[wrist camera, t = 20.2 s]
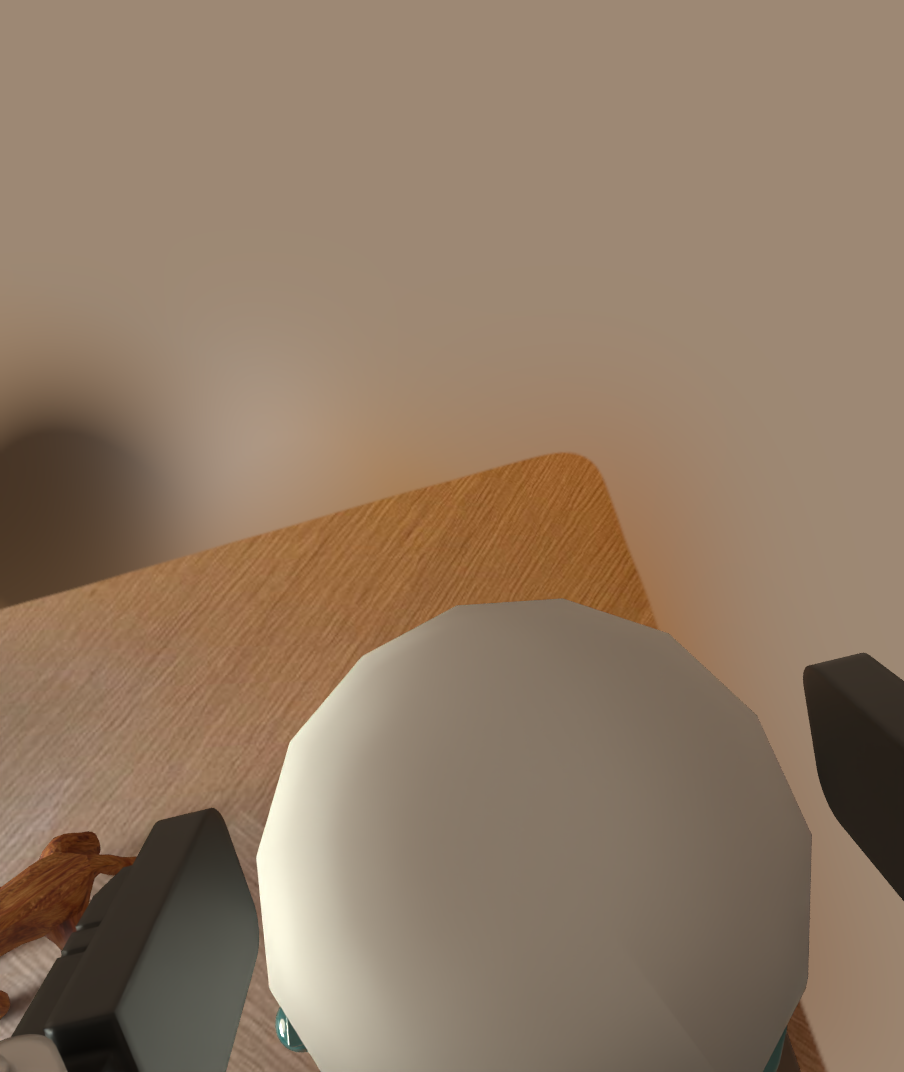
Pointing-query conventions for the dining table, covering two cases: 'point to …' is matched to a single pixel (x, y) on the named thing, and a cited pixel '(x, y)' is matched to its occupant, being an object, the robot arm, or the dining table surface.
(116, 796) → the dining table surface
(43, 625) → the dining table surface
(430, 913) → the salt shaker
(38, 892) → the cat figurine
